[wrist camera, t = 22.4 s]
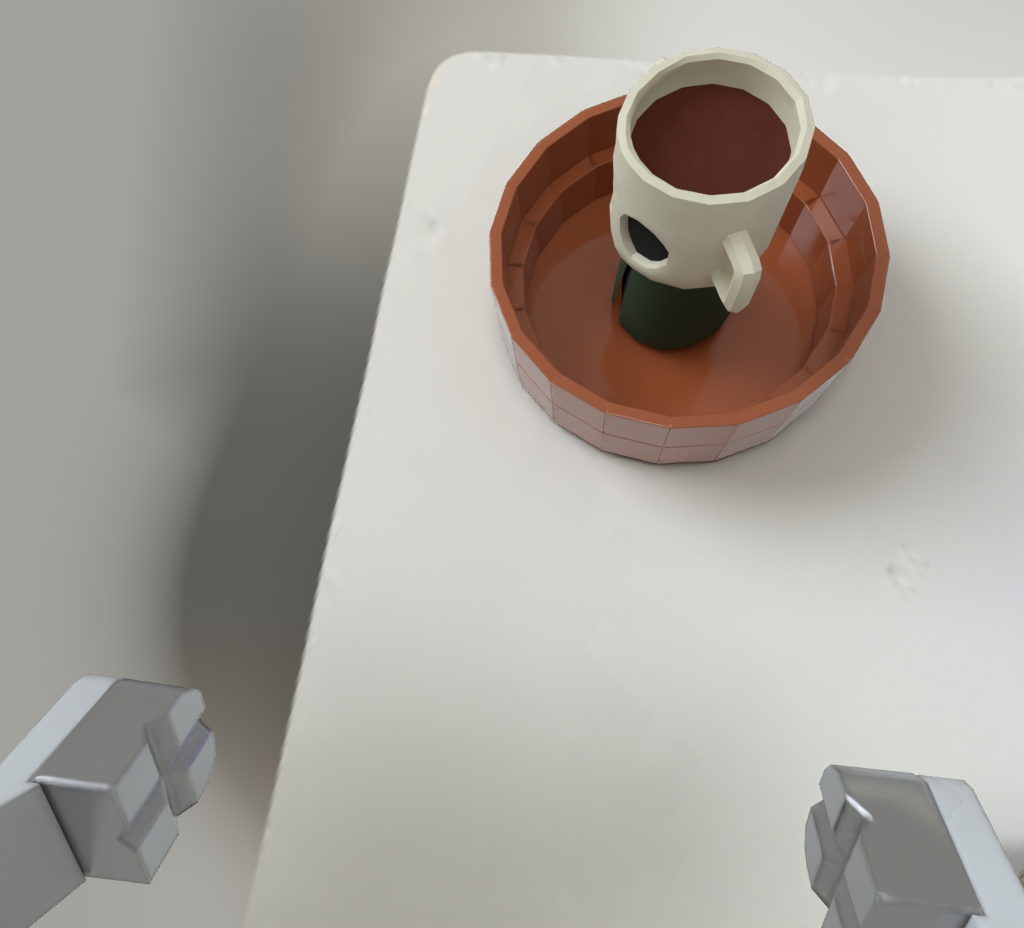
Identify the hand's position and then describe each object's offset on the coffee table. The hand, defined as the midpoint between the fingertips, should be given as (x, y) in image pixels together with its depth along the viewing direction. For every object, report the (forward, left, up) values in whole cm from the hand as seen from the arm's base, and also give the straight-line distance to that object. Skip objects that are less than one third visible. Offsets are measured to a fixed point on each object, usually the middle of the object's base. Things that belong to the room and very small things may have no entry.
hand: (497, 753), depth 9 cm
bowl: (+1, +21, -25) cm, 33 cm away
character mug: (+1, +21, -25) cm, 33 cm away
